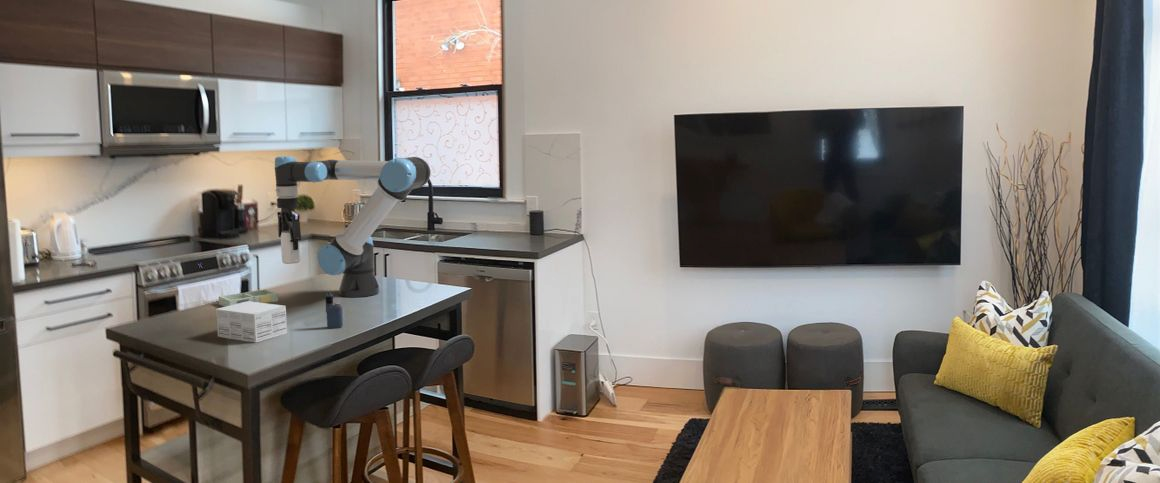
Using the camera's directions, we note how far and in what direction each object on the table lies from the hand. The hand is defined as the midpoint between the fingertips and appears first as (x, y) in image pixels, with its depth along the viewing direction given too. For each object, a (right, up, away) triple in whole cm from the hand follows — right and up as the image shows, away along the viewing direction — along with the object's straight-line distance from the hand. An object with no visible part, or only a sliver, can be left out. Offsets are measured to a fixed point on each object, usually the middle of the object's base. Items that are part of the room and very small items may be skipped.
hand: (290, 257), depth 310 cm
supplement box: (+6, -24, -52) cm, 57 cm away
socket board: (-13, -17, -7) cm, 23 cm away
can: (0, -2, 0) cm, 2 cm away
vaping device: (+30, -23, -42) cm, 56 cm away
